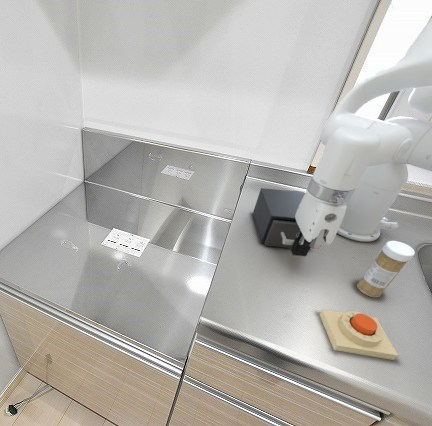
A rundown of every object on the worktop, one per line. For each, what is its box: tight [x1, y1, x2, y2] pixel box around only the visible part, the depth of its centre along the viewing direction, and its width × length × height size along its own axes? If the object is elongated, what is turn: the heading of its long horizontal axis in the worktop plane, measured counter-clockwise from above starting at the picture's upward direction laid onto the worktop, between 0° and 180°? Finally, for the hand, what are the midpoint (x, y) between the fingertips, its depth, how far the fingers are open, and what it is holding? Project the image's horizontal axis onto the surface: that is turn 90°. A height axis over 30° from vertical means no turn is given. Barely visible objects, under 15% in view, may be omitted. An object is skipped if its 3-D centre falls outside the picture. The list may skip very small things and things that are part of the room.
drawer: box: [264, 219, 298, 249], centre depth 78 cm, size 17×10×8 cm, turn 168°
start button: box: [350, 313, 378, 335], centre depth 56 cm, size 4×4×2 cm
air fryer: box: [252, 187, 306, 245], centre depth 82 cm, size 14×12×10 cm
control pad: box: [318, 309, 399, 361], centre depth 57 cm, size 10×8×4 cm
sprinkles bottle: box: [356, 240, 416, 298], centre depth 63 cm, size 5×5×13 cm
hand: (297, 253), depth 71 cm, fingers closed
